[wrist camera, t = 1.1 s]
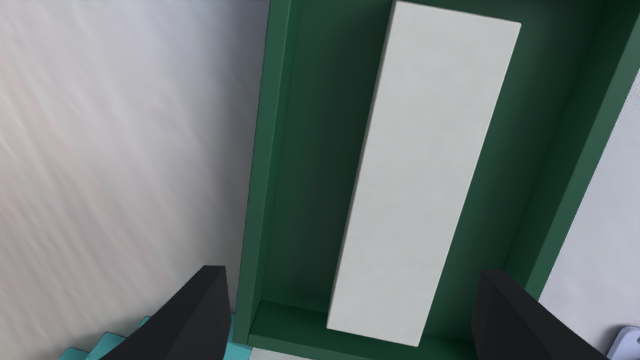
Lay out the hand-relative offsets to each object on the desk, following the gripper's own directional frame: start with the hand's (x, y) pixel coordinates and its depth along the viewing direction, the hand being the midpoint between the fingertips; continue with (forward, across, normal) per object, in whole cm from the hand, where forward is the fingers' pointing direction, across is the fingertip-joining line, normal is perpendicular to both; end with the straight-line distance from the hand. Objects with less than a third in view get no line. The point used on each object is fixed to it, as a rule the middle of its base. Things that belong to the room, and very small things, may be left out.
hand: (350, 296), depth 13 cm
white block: (+10, -3, +1) cm, 10 cm away
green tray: (+10, -3, +1) cm, 11 cm away
